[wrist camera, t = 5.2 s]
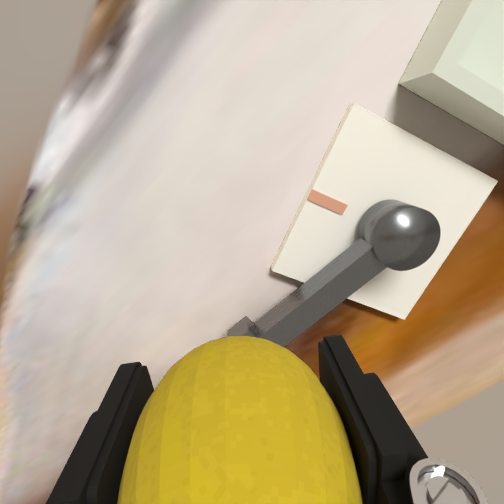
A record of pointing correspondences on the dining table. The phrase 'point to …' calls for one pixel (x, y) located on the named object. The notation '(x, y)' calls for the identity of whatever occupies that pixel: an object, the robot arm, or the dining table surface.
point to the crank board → (375, 190)
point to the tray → (463, 64)
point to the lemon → (239, 433)
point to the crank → (351, 269)
